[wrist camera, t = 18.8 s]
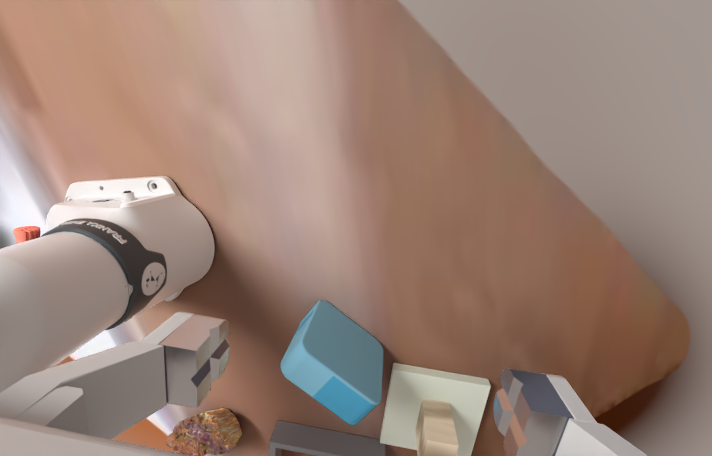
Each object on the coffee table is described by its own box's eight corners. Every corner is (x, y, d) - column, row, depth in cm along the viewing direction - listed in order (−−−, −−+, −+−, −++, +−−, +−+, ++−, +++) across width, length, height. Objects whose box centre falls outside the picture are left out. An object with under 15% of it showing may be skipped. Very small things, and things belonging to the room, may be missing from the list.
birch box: (422, 397, 49) (427, 439, 42) (449, 402, 48) (458, 445, 42) (415, 430, 50) (418, 475, 44) (441, 435, 50) (448, 481, 43)
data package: (303, 316, 49) (275, 371, 37) (320, 295, 48) (298, 346, 36) (365, 363, 50) (357, 431, 38) (384, 344, 49) (381, 409, 37)
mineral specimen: (206, 466, 57) (169, 486, 51) (193, 421, 60) (157, 436, 54) (253, 437, 54) (220, 455, 48) (237, 391, 57) (204, 403, 51)
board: (380, 434, 53) (379, 443, 52) (393, 362, 49) (393, 369, 48) (467, 451, 52) (469, 460, 51) (487, 378, 48) (490, 386, 47)
